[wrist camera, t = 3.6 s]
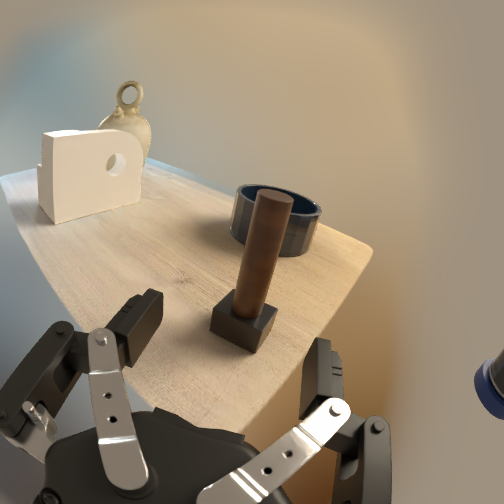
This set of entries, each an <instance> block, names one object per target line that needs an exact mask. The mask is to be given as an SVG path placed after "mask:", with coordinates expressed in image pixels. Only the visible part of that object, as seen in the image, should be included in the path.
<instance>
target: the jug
mask: <svg viewBox="0 0 504 504" xmlns="http://www.w3.org/2000/svg"><path fill="white" fill-rule="evenodd" d="M129 86H133V87H135V88H136V90H137V99H136V100H135V101H134V102H133V103H132V104H125V103H124V102H123V101H122V93H123V91H124V90H125V89H126V88H127V87H129ZM115 98H116V103H117V104H118V106H116V107H115V110H114V112H113V114H111V115H110V116H108V117H107V118H105V119H104V120H103V121H102V122H101V124H100V125H99V127H98V129H97V130H105V129H114V130H119V131H124V132H128V133H130V134H132V135H134V136H135V137H136V138H137V139H138V141H139V142H140V144H141V146H142V149H143V167H144V164H145V160H146V157H147V154H148V150H149V147H150V143H151V129H150V126H149V124H148V122H147V121H146V120H145V118H143V117H142V116H141V115H139V114H137V113H138V112H139V111H140V108H139V107H138V105H139V104H140V103H141V101H142V98H143V89H142V87H141V85H140V84H139V83H137V82H135V81H128V82H125V83H124V84H122V85H121V86H120V87H119V88H118V90H117V92H116V97H115ZM115 162H116V156H115V154H113V155H112V156H111V157H110V158H109V159H108V161H107V164H106V170H107V171H109V170H111V169H112V168H113V166H114V165H115Z"/></svg>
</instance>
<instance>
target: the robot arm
mask: <svg viewBox="0 0 504 504" xmlns="http://www.w3.org/2000/svg"><path fill="white" fill-rule="evenodd" d="M162 317H163V293H162V292H159V291H156V290H153V289H151V288H149V289H148V290H147V291H146V292H145V293H144V294H143V296H141V295H139V294H137V295H135V296H134V297H132V298H130V299H129V300H128V301H127V302H126V303H125V304H124V306H123V307H122V308H121V309H120V311H118V313H117V314H116V315H115V316H114V317H113V318H112V320H111V321H110V322H109V323H108V324H107V325H106V327H105V328H99V329H95V330H93V331H92V332H91V333H83V332H77V331H74V327H73V325H72V324H70V323H69V322H66V321H59V322H56V323H54V324H53V325H52V326H51V327H50V328H49V329H48V330H47V331H46V333H45V334H44V335H43V336H42V337H41V338H40V340H39V341H38V342H37V343H36V344H35V346H34V347H33V348H32V349H31V351H30V352H29V353H28V354H27V355H26V357H25V358H24V359H23V361H22V362H21V363H20V364H19V366H18V367H17V368H16V369H15V371H14V372H13V373H12V375H11V376H10V377H9V379H8V380H7V382H6V383H5V384H4V386H3V387H2V388H1V390H0V433H1V434H2V435H3V436H4V437H5V438H6V439H8V440H9V441H10V442H11V443H12V444H13V445H15V446H16V447H18V448H19V449H20V450H21V451H23V452H24V453H28V454H31V455H32V456H34V457H35V458H37V459H38V460H40V461H41V462H42V463H44V465H45V477H44V484H43V487H42V490H41V492H40V493H39V494H38V495H37V497H36V498H35V499H34V500H33V501H32V502H31V503H30V504H293V503H292V502H291V501H290V499H289V497H288V496H287V494H286V493H285V491H284V490H283V488H282V486H281V484H282V483H284V482H285V481H286V480H287V479H289V478H290V477H291V476H292V475H293V474H294V473H295V472H297V471H298V469H300V468H301V467H302V466H303V465H304V464H305V463H306V462H308V461H309V459H311V458H312V457H313V456H314V455H315V454H316V453H317V452H318V451H319V450H320V449H321V448H322V447H323V446H324V447H327V448H329V449H331V450H334V451H336V452H337V459H336V470H335V479H334V487H333V495H332V502H331V504H391V492H392V462H391V437H390V426H389V424H388V422H387V421H386V420H385V419H384V418H383V417H381V416H376V415H374V416H370V417H369V418H367V419H365V418H363V417H360V416H358V415H356V414H353V413H352V412H351V411H350V408H349V406H348V405H347V403H345V401H344V392H343V377H342V362H341V359H340V357H339V355H338V353H337V352H334V351H331V342H330V340H326V339H322V338H317V337H316V338H315V339H314V341H313V343H312V345H311V347H310V349H309V351H308V353H307V355H306V357H305V359H304V363H303V368H302V383H301V396H300V408H299V420H304V421H302V422H301V423H300V424H299V425H296V426H295V427H293V428H292V429H291V430H289V431H288V432H287V433H286V434H285V435H283V436H282V437H281V438H280V439H278V440H277V441H276V442H274V443H273V444H272V445H271V446H269V447H268V448H267V449H265V450H264V451H263V452H261V453H260V452H259V451H258V450H257V449H256V448H255V447H253V446H252V445H251V444H249V443H247V442H245V441H244V437H245V435H242V434H238V433H234V432H230V431H226V430H223V429H209V428H199V427H196V426H194V425H192V424H191V423H189V422H187V421H186V420H184V419H183V418H181V417H179V416H178V415H176V414H173V413H170V412H168V411H165V410H163V409H160V408H157V407H155V409H154V411H153V412H150V411H139V412H133V413H132V412H131V409H130V405H129V401H128V396H127V392H126V388H125V384H124V379H123V374H122V369H123V368H124V366H125V365H126V366H128V367H130V368H132V367H133V366H134V364H135V363H136V361H137V359H138V358H139V356H140V355H141V353H142V352H143V350H144V349H145V347H146V345H147V344H148V342H149V341H150V339H151V338H152V336H153V335H154V333H155V332H156V330H157V329H158V327H159V326H160V324H161V321H162ZM82 373H86V374H88V377H89V386H90V394H91V401H92V407H93V413H94V419H95V425H96V427H94V428H91V429H89V430H86V431H83V432H80V433H78V434H74V435H72V436H69V437H66V438H62V439H60V440H57V441H56V442H55V434H56V431H57V426H56V423H55V421H54V418H55V416H56V415H57V413H58V411H59V410H60V408H61V406H62V405H63V403H64V401H65V400H66V398H67V396H68V395H69V393H70V392H71V390H72V388H73V387H74V385H75V384H76V382H77V380H78V379H79V377H80V376H81V374H82ZM488 377H489V380H490V383H491V385H492V387H493V389H494V390H495V392H496V393H497V394H498V395H499V397H500V398H501V399H503V400H504V349H503V350H502V352H501V353H500V354H499V355H498V357H497V358H496V359H495V361H493V362H492V363H491V365H490V366H489V368H488Z"/></svg>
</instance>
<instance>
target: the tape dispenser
mask: <svg viewBox="0 0 504 504" xmlns="http://www.w3.org/2000/svg"><path fill="white" fill-rule="evenodd" d="M113 154H115V156H116V162H115V165H114V166H113V168H112V169H111V170H109V171H107V170H106V164H107V161H108V159H109V158H110V157H111V156H112V155H113ZM142 169H143V149H142V146H141V144H140V142H139V141H138V139H137V138H136V137H135V136H134V135H132V134H130V133H128V132H124V131H119V130H114V129H105V130H91V131H77V130H66V131H57V132H49V133H43V135H42V163H41V164H38V165H37V175H38V198H39V205H40V206H41V207H42V209H43V210H44V211H45V213H46V214H47V215H48V216H49V218H50V219H51V220H52V221H53V223H54V224H55V225H57V224H60V223H63V222H67V221H70V220H74V219H77V218H81V217H85V216H88V215H92V214H96V213H100V212H104V211H108V210H112V209H116V208H120V207H124V206H128V205H132V204H137V203H140V193H141V180H142Z"/></svg>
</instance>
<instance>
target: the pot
mask: <svg viewBox="0 0 504 504" xmlns="http://www.w3.org/2000/svg"><path fill="white" fill-rule="evenodd" d="M260 189H270V190H276V191H279V192H282V193H285V194H287V195H289V196H291V197H292V198H293V199H294V202H293V205H292V209H291V213H290V216H289V220H288V223H287V227H286V230H285V234H284V237H283V241H282V245H281V248H280V251H279V255H278V256H285V257H291V256H299V255H302V254H304V253H306V252H307V251H308V250H309V248H310V246H311V243H312V240H313V237H314V234H315V231H316V228H317V225H318V222H319V219H320V216H321V212H322V211H321V208H320V206H319V205H318V204H316V203H315V202H314V201H312V200H310V199H309V198H307V197H304V196H302V195H300V194H298V193H295V192H292V191H289V190H285V189H282V188H278V187H273V186H267V185H256V184H251V185H243V186H240V187H239V188H238V189H237V191H236V196H235V201H234V206H233V211H232V216H231V221H230V232H231V234H232V235H233V237H234V238H235V239H236V240H238V241H239V242H240V243H242V244H243V245H245V244H246V240H247V235H248V231H249V226H250V222H251V218H252V213H253V209H254V204H255V200H256V196H257V191H258V190H260Z"/></svg>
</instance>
